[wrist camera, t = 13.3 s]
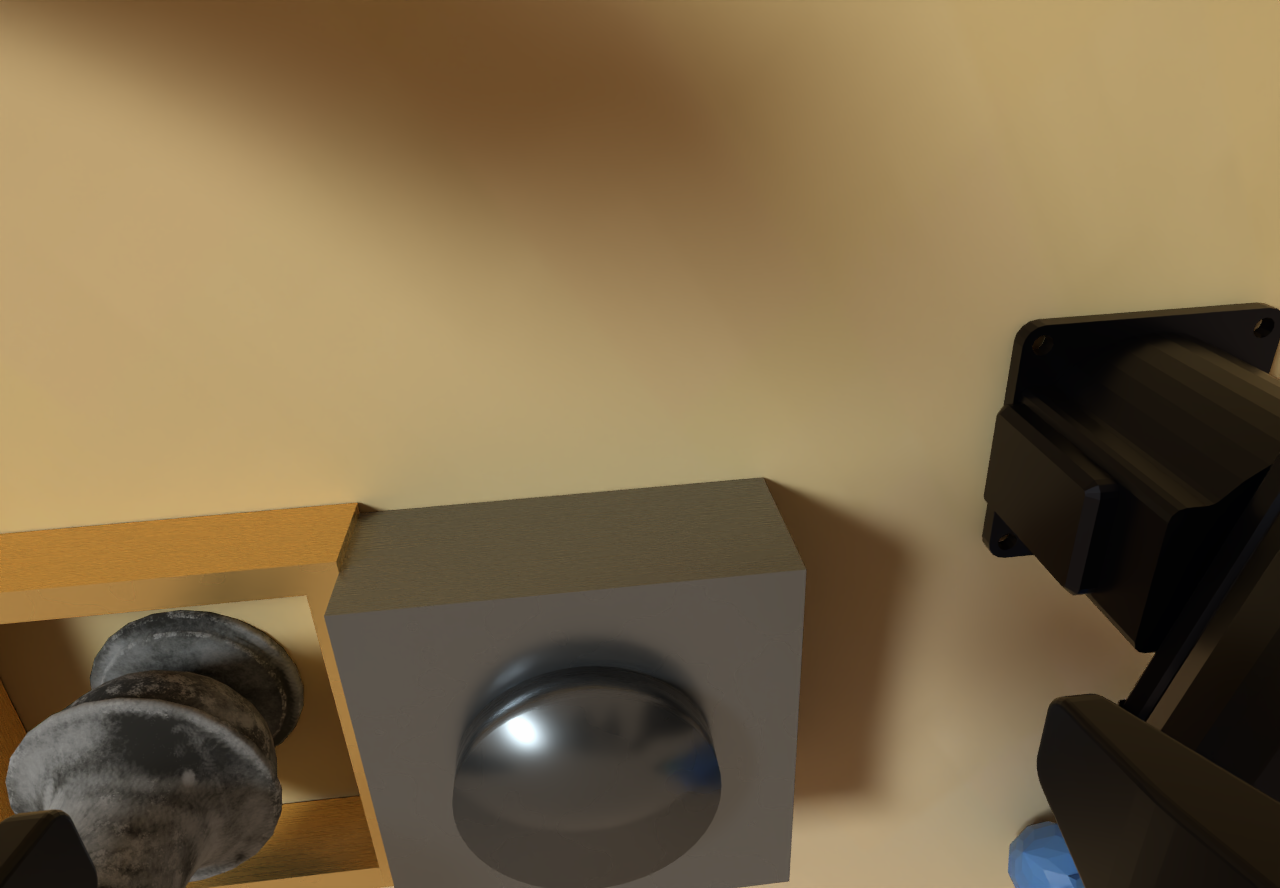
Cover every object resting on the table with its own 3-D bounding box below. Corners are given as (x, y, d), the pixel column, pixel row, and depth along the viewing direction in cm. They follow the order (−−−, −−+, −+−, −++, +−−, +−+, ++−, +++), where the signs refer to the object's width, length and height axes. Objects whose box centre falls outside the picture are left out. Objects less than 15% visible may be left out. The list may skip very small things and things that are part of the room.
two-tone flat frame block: (763, 467, 22) (820, 585, 17) (755, 770, 27) (798, 924, 22) (-105, 542, 20) (-284, 694, 16) (53, 850, 25) (-50, 1031, 21)
